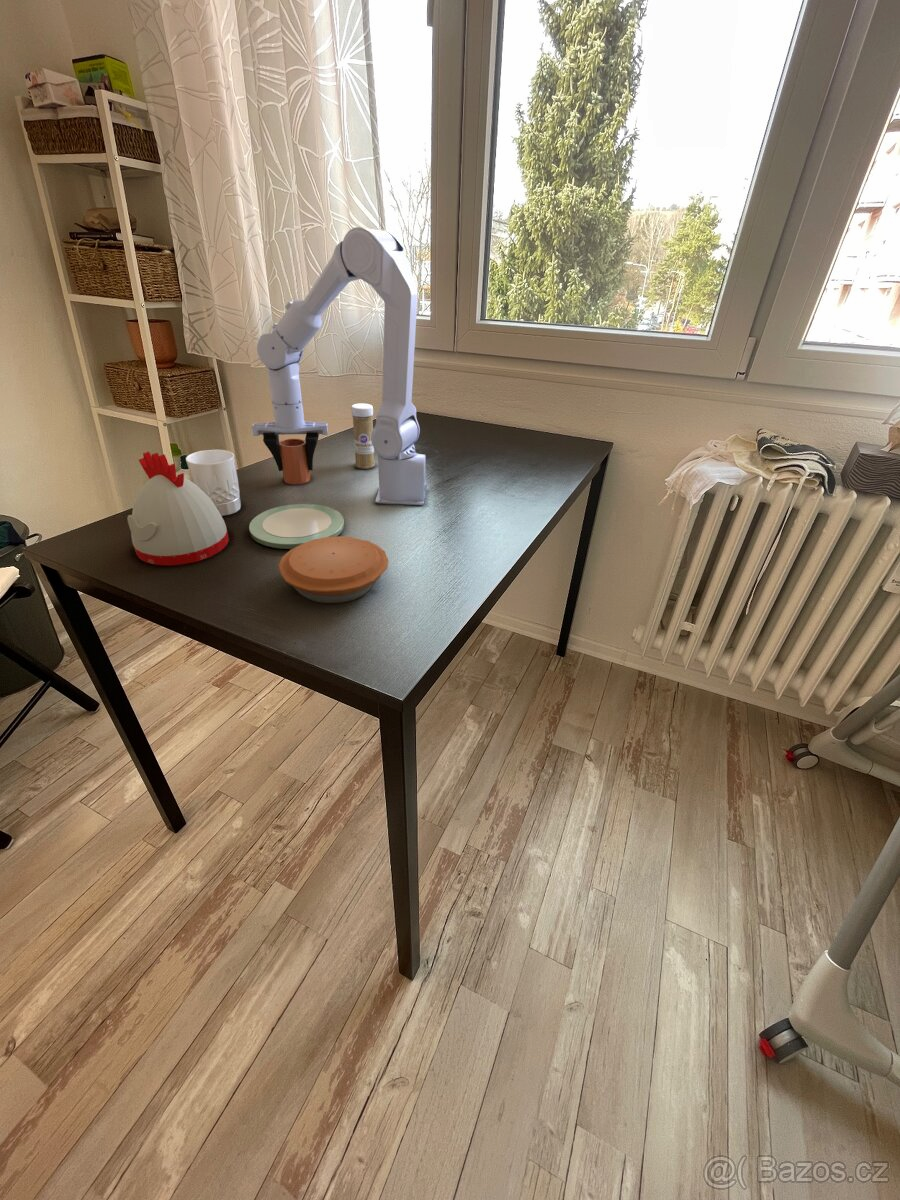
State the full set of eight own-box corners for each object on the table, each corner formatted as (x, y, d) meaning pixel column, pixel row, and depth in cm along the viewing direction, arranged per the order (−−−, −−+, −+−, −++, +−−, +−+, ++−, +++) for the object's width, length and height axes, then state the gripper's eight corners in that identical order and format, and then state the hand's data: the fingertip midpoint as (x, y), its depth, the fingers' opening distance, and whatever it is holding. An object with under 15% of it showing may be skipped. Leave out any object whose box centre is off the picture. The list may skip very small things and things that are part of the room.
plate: (351, 511, 96) (350, 505, 96) (334, 552, 83) (334, 545, 82) (266, 508, 96) (265, 501, 95) (236, 549, 83) (234, 541, 82)
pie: (271, 613, 69) (264, 582, 66) (294, 556, 82) (289, 528, 79) (385, 613, 70) (384, 582, 67) (390, 557, 83) (389, 529, 80)
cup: (313, 475, 111) (308, 438, 106) (307, 485, 106) (302, 447, 102) (288, 474, 111) (282, 437, 106) (281, 484, 106) (275, 446, 102)
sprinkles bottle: (358, 470, 115) (354, 408, 107) (353, 463, 118) (348, 403, 110) (377, 468, 116) (375, 407, 109) (372, 461, 120) (369, 402, 112)
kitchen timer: (188, 519, 91) (164, 434, 83) (246, 536, 87) (228, 449, 78) (116, 551, 81) (81, 459, 72) (178, 574, 76) (149, 477, 68)
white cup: (229, 520, 92) (217, 466, 86) (190, 515, 93) (175, 461, 87) (252, 503, 98) (242, 451, 92) (215, 498, 99) (203, 447, 93)
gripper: (325, 396, 104) (331, 461, 112) (251, 396, 102) (262, 463, 109) (324, 405, 98) (331, 473, 106) (245, 405, 96) (258, 474, 104)
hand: (296, 468), depth 107 cm, fingers closed on cup, 5 cm apart
